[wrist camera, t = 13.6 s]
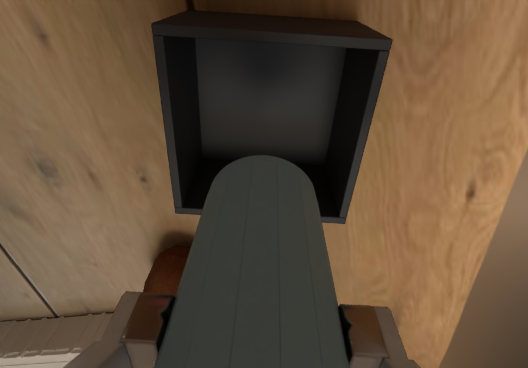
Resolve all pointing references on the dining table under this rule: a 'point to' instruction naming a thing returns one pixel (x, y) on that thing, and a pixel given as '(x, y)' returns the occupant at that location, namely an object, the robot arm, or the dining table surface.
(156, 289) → the potato
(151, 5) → the dining table surface
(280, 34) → the box
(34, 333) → the white box
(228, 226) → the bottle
